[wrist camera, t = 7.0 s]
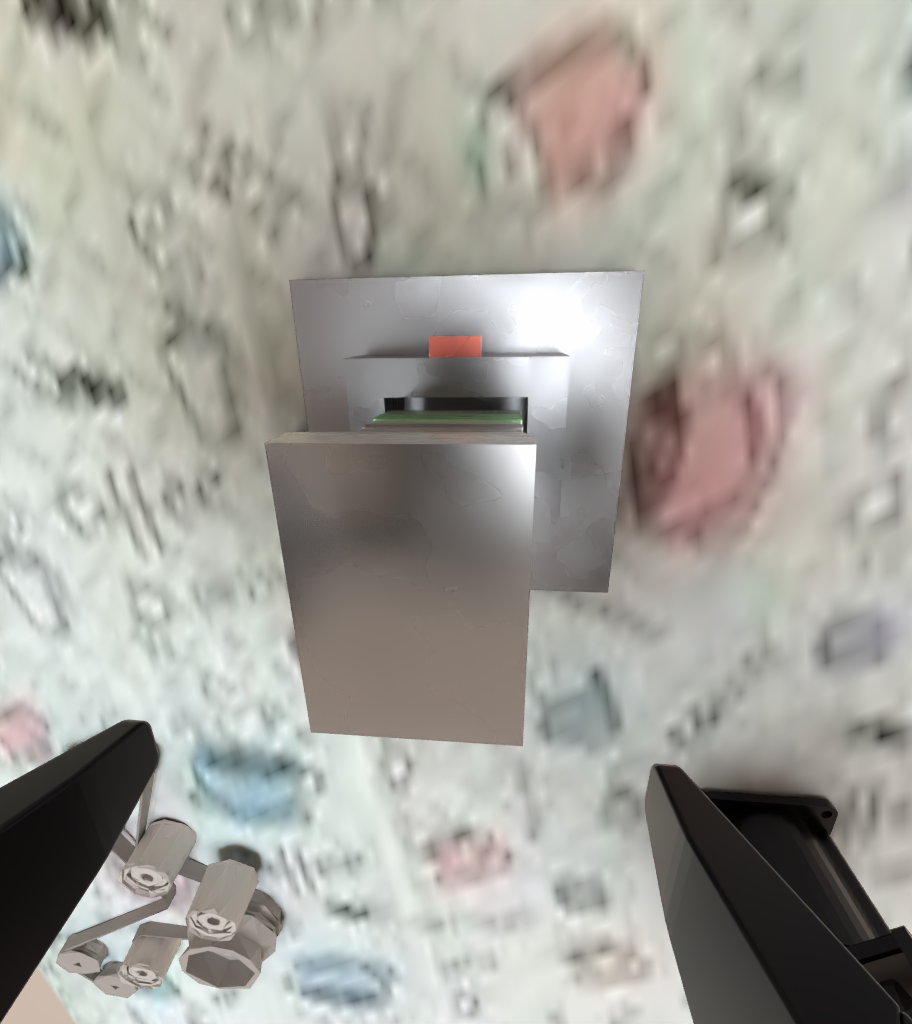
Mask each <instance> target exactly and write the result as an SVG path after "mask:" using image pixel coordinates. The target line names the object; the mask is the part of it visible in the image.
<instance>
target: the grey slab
mask: <svg viewBox="0 0 912 1024" xmlns="http://www.w3.org/2000/svg"><path fill="white" fill-rule="evenodd" d="M265 448H266V454H267V461H268V467H269V473H270V479H271V486H272V492H273V498H274V504H275V511H276V517H277V523H278V529H279V536H280V542H281V548H282V554H283V561H284V567H285V573H286V579H287V586H288V592H289V598H290V604H291V611H292V617H293V623H294V629H295V636H296V642H297V648H298V654H299V661H300V667H301V673H302V679H303V686H304V692H305V698H306V704H307V711H308V717H309V723H310V729H311V732H314V733H329V734H344V735H360V736H375V737H391V738H406V739H421V740H437V741H452V742H468V743H483V744H498V745H514V746H523V726H524V704H525V682H526V661H527V639H528V617H529V595H530V573H531V551H532V530H533V508H534V486H535V464H536V442H535V438H534V434H533V433H523V424H522V415H521V414H520V413H519V410H389V411H387V412H386V413H384V414H380V415H378V416H377V417H375V418H374V419H373V422H372V423H371V424H366V425H365V426H363V429H362V430H361V431H359V432H286V433H284V434H282V435H280V436H278V437H276V438H274V439H272V440H270V441H268V442H266V443H265Z"/></svg>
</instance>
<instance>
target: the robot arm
mask: <svg viewBox="0 0 912 1024" xmlns="http://www.w3.org/2000/svg"><path fill="white" fill-rule="evenodd" d="M158 759H159V753H158V749H157V746H156V742H155V739H154V735H153V732H152V728H151V726H150V724H149V723H148V722H146V721H140V720H124V721H121V722H119V723H117V724H115V725H114V726H112V727H110V728H108V729H106V730H105V731H103V732H101V733H99V734H97V735H95V736H94V737H92V738H90V739H88V740H86V741H85V742H83V743H81V744H79V745H77V746H75V747H74V748H72V749H70V750H68V751H66V752H64V753H63V754H61V755H59V756H57V757H55V758H54V759H52V760H50V761H48V762H46V763H44V764H43V765H41V766H39V767H37V768H35V769H33V770H32V771H30V772H28V773H26V774H24V775H23V776H21V777H19V778H17V779H15V780H13V781H12V782H10V783H8V784H6V785H4V786H3V787H1V788H0V1023H1V1022H2V1020H3V1019H4V1017H5V1016H6V1014H7V1012H8V1011H9V1009H10V1008H11V1006H12V1005H13V1003H14V1002H15V1000H16V998H17V997H18V995H19V994H20V992H21V991H22V989H23V988H24V986H25V985H26V983H27V982H28V980H29V979H30V977H31V975H32V974H33V972H34V971H35V969H36V968H37V966H38V965H39V963H40V962H41V960H42V958H43V957H44V955H45V954H46V952H47V951H48V949H49V948H50V946H51V944H52V943H53V941H54V940H55V938H56V937H57V935H58V934H59V932H60V931H61V929H62V927H63V926H64V924H65V923H66V921H67V920H68V918H69V917H70V915H71V914H72V912H73V910H74V909H75V907H76V906H77V904H78V903H79V901H80V900H81V898H82V897H83V895H84V893H85V892H86V890H87V889H88V887H89V886H90V884H91V883H92V881H93V880H94V878H95V876H96V875H97V873H98V872H99V870H100V869H101V867H102V865H103V864H104V862H105V860H106V859H107V857H108V855H109V854H110V852H111V850H112V848H113V847H114V845H115V843H116V841H117V840H118V838H119V836H120V834H121V832H122V830H123V828H124V827H125V825H126V823H127V821H128V819H129V817H130V815H131V814H132V812H133V810H134V808H135V806H136V804H137V803H138V801H139V799H140V797H141V795H142V793H143V791H144V790H145V788H146V786H147V784H148V782H149V780H150V778H151V777H152V775H153V773H154V771H155V769H156V767H157V764H158ZM645 813H646V819H647V824H648V830H649V835H650V841H651V846H652V852H653V857H654V863H655V868H656V874H657V879H658V885H659V890H660V896H661V901H662V906H663V911H664V916H665V921H666V925H667V929H668V933H669V937H670V941H671V944H672V948H673V951H674V955H675V959H676V962H677V966H678V969H679V973H680V976H681V980H682V984H683V987H684V991H685V994H686V998H687V1001H688V1005H689V1009H690V1012H691V1016H692V1019H693V1023H694V1024H912V935H911V933H910V932H909V931H908V930H907V929H906V927H905V926H904V925H903V926H900V927H897V928H894V929H891V930H890V929H889V928H888V926H887V924H886V923H885V921H884V920H883V918H882V917H881V915H880V913H879V912H878V910H877V909H876V907H875V906H874V904H873V902H872V901H871V899H870V898H869V896H868V895H867V893H866V892H865V890H864V888H863V887H862V885H861V884H860V882H859V881H858V879H857V877H856V876H855V874H854V873H853V871H852V870H851V868H850V866H849V865H848V863H847V862H846V860H845V859H844V857H843V856H842V854H841V852H840V851H839V849H838V848H837V846H836V845H835V843H834V841H833V840H832V838H831V837H830V834H831V831H832V829H833V826H834V823H835V821H836V818H837V816H838V812H837V810H836V809H835V807H834V806H833V804H832V803H831V802H830V801H828V800H821V799H807V798H793V797H778V796H764V795H750V794H736V793H722V792H703V791H702V790H701V789H700V788H699V787H698V786H697V785H696V784H695V783H694V782H693V781H692V779H691V778H690V777H689V776H688V775H687V774H686V773H685V772H684V771H683V770H682V769H681V768H680V767H678V766H676V765H667V764H654V765H653V766H652V768H651V771H650V776H649V781H648V786H647V791H646V796H645Z"/></svg>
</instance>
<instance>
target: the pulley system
mask: <svg viewBox="0 0 912 1024" xmlns="http://www.w3.org/2000/svg"><path fill="white" fill-rule="evenodd" d="M154 773H155V771H154ZM154 773H153V775H152V777H151V778H150V780H149V782H148V784H147V786H146V788H145V790H144V791H143V793H142V795H141V797H140V806H139V815H138V825H137V834H136V844H135V846H133V845H132V844H131V843H130V842H129V841H128V840H127V839H126V838H125V837H124V836H123V835H122V834H120V836H119V838H118V840H117V841H116V843H115V845H114V847H113V848H112V850H111V851H112V852H113V853H114V854H116V855H117V856H118V857H119V858H120V859H121V860H122V861H123V862H124V863H125V864H126V865H125V866H124V867H123V870H122V872H121V874H120V876H119V878H118V880H117V881H118V882H119V883H121V884H122V885H123V886H125V887H126V888H127V889H129V890H130V891H132V892H133V893H134V894H136V895H141V896H145V897H149V898H154V897H158V896H161V897H163V899H161V900H158V901H156V902H153V903H151V904H148V905H146V906H144V907H141V908H139V909H136V910H134V911H131V912H129V913H126V914H124V915H122V916H119V917H117V918H114V919H112V920H109V921H107V922H104V923H102V924H100V925H97V926H95V927H92V928H90V929H87V930H85V931H82V932H80V933H78V934H72V935H71V936H70V937H69V938H68V940H67V941H66V943H65V944H64V946H63V948H62V949H61V951H60V952H59V954H58V958H57V961H56V963H57V964H58V965H59V966H61V967H62V968H63V969H65V970H66V971H68V972H71V973H78V974H80V975H81V976H83V977H85V978H87V979H88V980H90V981H92V983H94V984H95V985H96V986H97V987H98V988H99V989H100V990H102V991H103V992H104V993H105V994H107V995H113V996H119V997H124V998H128V997H130V996H131V995H132V994H134V993H135V992H136V991H137V990H138V988H142V989H153V990H154V989H156V988H159V987H160V986H161V984H162V982H163V980H164V978H165V975H166V973H167V971H168V969H169V967H170V965H171V963H172V961H173V959H174V957H175V954H176V952H177V950H178V948H179V946H180V944H181V939H183V940H188V941H189V947H188V948H187V949H186V950H185V952H184V953H183V954H182V955H181V957H180V958H179V962H180V965H181V968H182V971H183V972H185V973H186V974H187V975H189V976H190V977H191V978H193V979H194V980H195V981H197V982H198V983H199V984H203V985H207V986H212V987H216V988H220V989H239V988H251V986H252V985H253V983H254V982H255V980H256V979H257V977H258V976H259V974H260V972H261V965H262V962H263V961H264V960H265V959H266V958H268V957H269V956H270V955H271V954H273V953H274V952H275V948H276V937H277V936H278V935H279V932H280V930H281V927H282V925H281V908H280V907H279V906H278V905H277V904H276V903H275V902H274V901H273V900H272V899H271V898H270V897H269V896H268V895H267V894H265V893H263V892H261V891H259V890H257V889H255V888H256V886H257V884H258V882H259V881H258V878H257V875H256V872H255V869H254V868H253V867H251V866H248V865H245V864H242V863H240V862H237V861H234V860H232V859H228V860H225V861H221V862H217V863H213V864H209V865H208V866H206V865H203V864H201V863H198V862H195V861H193V860H190V859H188V858H187V857H188V855H189V853H190V851H191V849H192V848H193V846H194V844H195V842H196V833H195V832H194V831H193V830H192V829H190V828H189V827H188V826H186V825H185V824H182V823H178V822H173V821H169V820H165V819H164V820H161V821H157V822H154V823H151V824H150V826H149V827H148V829H147V831H146V832H145V830H146V824H147V817H148V811H149V804H150V798H151V791H152V784H153V778H154ZM178 874H179V875H182V876H185V877H187V878H190V879H193V880H195V881H198V882H201V884H200V886H199V888H198V891H197V893H196V895H195V898H194V900H193V902H192V905H191V907H190V909H189V911H188V914H187V916H186V923H187V926H180V925H173V924H166V923H160V922H153V921H151V922H148V923H144V924H141V925H140V926H139V928H138V930H137V932H136V935H135V937H134V939H133V943H132V946H131V948H130V950H129V952H128V954H127V956H126V958H125V960H124V962H111V961H110V962H109V963H107V964H106V965H105V966H104V968H103V970H101V969H100V966H101V964H102V962H103V960H104V959H105V957H106V955H107V953H108V950H107V948H106V946H105V944H104V943H102V942H100V941H98V940H96V939H97V938H100V937H102V936H104V935H107V934H109V933H111V932H114V931H116V930H118V929H121V928H123V927H126V926H128V925H130V924H133V923H135V922H137V921H140V920H142V919H144V918H147V917H149V916H152V915H154V914H156V913H159V912H161V911H163V910H166V909H168V907H169V905H170V903H171V902H172V900H173V898H174V896H175V891H176V886H175V885H174V884H173V882H174V880H175V878H176V877H177V875H178Z"/></svg>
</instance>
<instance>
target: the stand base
mask: <svg viewBox="0 0 912 1024" xmlns="http://www.w3.org/2000/svg"><path fill="white" fill-rule="evenodd" d="M643 275H644V271H613V272H575V273H536V274H498V275H460V276H422V277H384V278H345V279H307V280H289V282H290V290H291V298H292V306H293V314H294V322H295V330H296V338H297V346H298V354H299V362H300V370H301V378H302V386H303V394H304V402H305V409H306V417H307V425H308V432H359V431H361V430H362V429H363V426H365V425H366V424H371V423H372V422H373V419H374V418H375V417H377V416H378V415H380V414H384V413H386V412H387V411H389V410H519V413H520V414H521V415H522V424H523V433H533V434H534V438H535V442H536V464H535V486H534V508H533V530H532V551H531V573H530V590H551V591H579V592H608V586H609V577H610V568H611V559H612V550H613V542H614V533H615V524H616V515H617V506H618V497H619V488H620V479H621V470H622V462H623V453H624V444H625V435H626V426H627V417H628V408H629V399H630V390H631V382H632V373H633V364H634V355H635V346H636V337H637V328H638V319H639V310H640V302H641V293H642V284H643Z"/></svg>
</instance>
